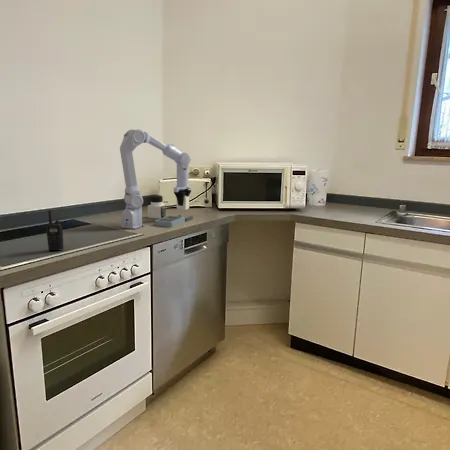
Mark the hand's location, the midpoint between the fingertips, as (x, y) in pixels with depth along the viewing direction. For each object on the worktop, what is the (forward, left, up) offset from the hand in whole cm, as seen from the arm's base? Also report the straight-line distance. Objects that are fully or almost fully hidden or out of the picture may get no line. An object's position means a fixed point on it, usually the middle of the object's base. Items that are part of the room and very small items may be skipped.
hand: (182, 204), depth 196 cm
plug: (0, 0, -2) cm, 2 cm away
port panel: (-11, +1, -8) cm, 14 cm away
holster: (0, 0, -8) cm, 8 cm away
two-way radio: (-65, +18, -8) cm, 68 cm away
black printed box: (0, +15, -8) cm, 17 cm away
